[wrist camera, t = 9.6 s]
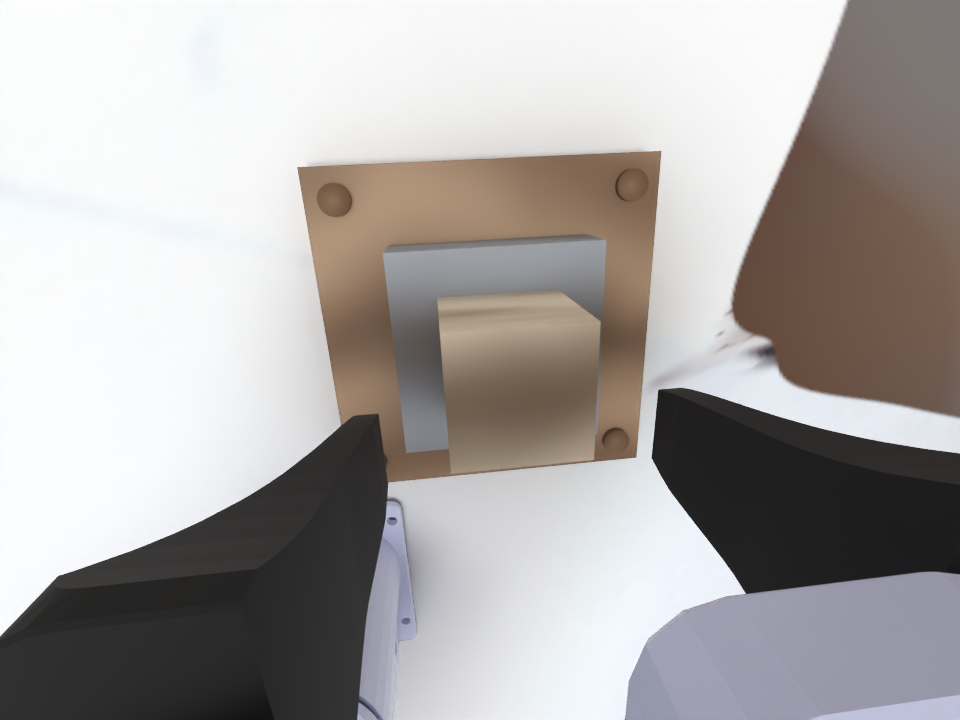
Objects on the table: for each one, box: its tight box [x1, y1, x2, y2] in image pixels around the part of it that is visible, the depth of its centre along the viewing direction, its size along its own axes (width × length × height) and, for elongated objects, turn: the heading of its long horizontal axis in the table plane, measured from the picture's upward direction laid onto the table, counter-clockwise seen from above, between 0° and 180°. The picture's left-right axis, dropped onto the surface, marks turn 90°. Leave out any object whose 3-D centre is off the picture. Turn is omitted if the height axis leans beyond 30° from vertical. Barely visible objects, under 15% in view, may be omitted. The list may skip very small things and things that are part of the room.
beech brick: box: [437, 290, 601, 474], centre depth 16 cm, size 4×4×4 cm
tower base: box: [297, 151, 661, 482], centre depth 20 cm, size 14×14×4 cm
